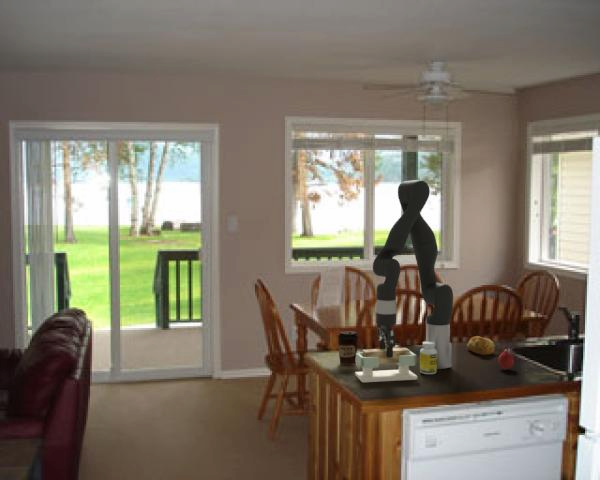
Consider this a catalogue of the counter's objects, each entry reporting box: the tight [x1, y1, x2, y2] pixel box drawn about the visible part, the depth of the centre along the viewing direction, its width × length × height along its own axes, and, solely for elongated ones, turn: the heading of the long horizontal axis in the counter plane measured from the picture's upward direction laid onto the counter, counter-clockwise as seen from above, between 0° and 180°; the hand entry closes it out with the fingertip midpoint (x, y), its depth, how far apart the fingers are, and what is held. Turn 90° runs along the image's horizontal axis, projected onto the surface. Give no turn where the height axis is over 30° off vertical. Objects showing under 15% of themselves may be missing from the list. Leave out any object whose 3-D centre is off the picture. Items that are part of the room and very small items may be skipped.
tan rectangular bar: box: [362, 347, 411, 365], centre depth 242 cm, size 17×4×4 cm, turn 101°
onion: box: [497, 349, 515, 371], centre depth 252 cm, size 6×6×8 cm
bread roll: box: [466, 335, 495, 356], centre depth 280 cm, size 13×10×8 cm
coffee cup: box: [337, 330, 359, 366], centre depth 261 cm, size 9×8×13 cm
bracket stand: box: [354, 350, 418, 383], centre depth 242 cm, size 21×10×9 cm, turn 100°
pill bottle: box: [419, 340, 438, 375], centre depth 248 cm, size 6×6×12 cm
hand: (385, 354), depth 242 cm, fingers open, 8 cm apart
